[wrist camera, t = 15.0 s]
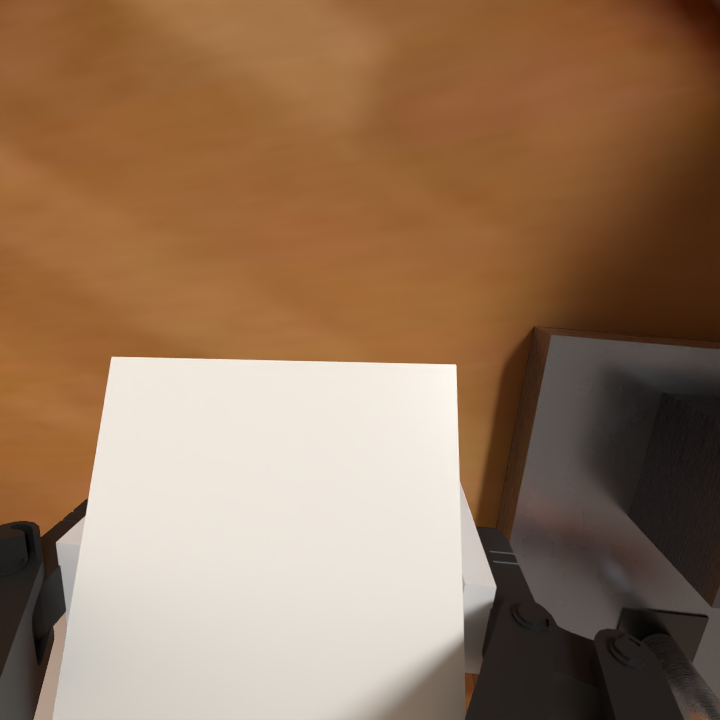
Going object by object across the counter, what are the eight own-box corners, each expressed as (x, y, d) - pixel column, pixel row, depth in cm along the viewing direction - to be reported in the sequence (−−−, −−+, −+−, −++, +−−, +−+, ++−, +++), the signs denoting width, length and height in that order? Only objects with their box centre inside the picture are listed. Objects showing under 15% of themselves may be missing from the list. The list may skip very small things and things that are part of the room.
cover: (180, 384, 15) (111, 356, 11) (430, 389, 15) (455, 364, 11) (145, 668, 13) (44, 767, 9) (434, 677, 13) (468, 782, 9)
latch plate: (534, 326, 19) (617, 368, 12) (899, 357, 18) (1200, 420, 12) (470, 664, 24) (503, 826, 17) (752, 696, 24) (901, 876, 17)
